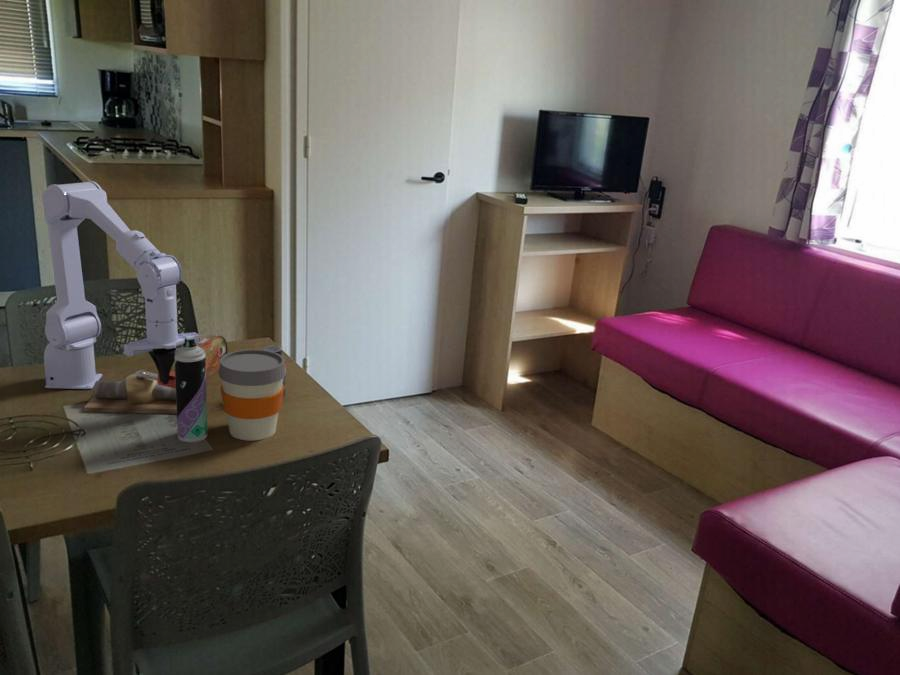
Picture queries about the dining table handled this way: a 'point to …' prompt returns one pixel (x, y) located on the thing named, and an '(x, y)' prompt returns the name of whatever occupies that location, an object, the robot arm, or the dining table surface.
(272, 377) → the reusable coffee cup
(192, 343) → the spray can
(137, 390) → the valve stand
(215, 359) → the tin
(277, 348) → the supplement bottle
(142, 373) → the valve lever
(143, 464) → the dining table surface
